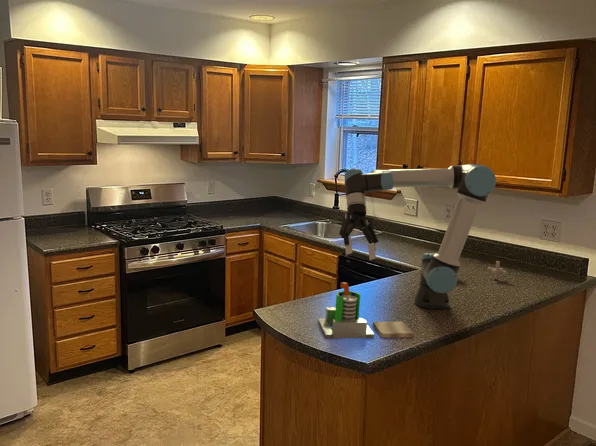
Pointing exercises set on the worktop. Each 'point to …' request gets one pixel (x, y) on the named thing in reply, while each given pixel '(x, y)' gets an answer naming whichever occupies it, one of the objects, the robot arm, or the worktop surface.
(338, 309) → the green-shelled ribbed roller
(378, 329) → the board
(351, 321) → the vise
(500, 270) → the pipe connector
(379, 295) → the worktop surface
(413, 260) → the worktop surface
